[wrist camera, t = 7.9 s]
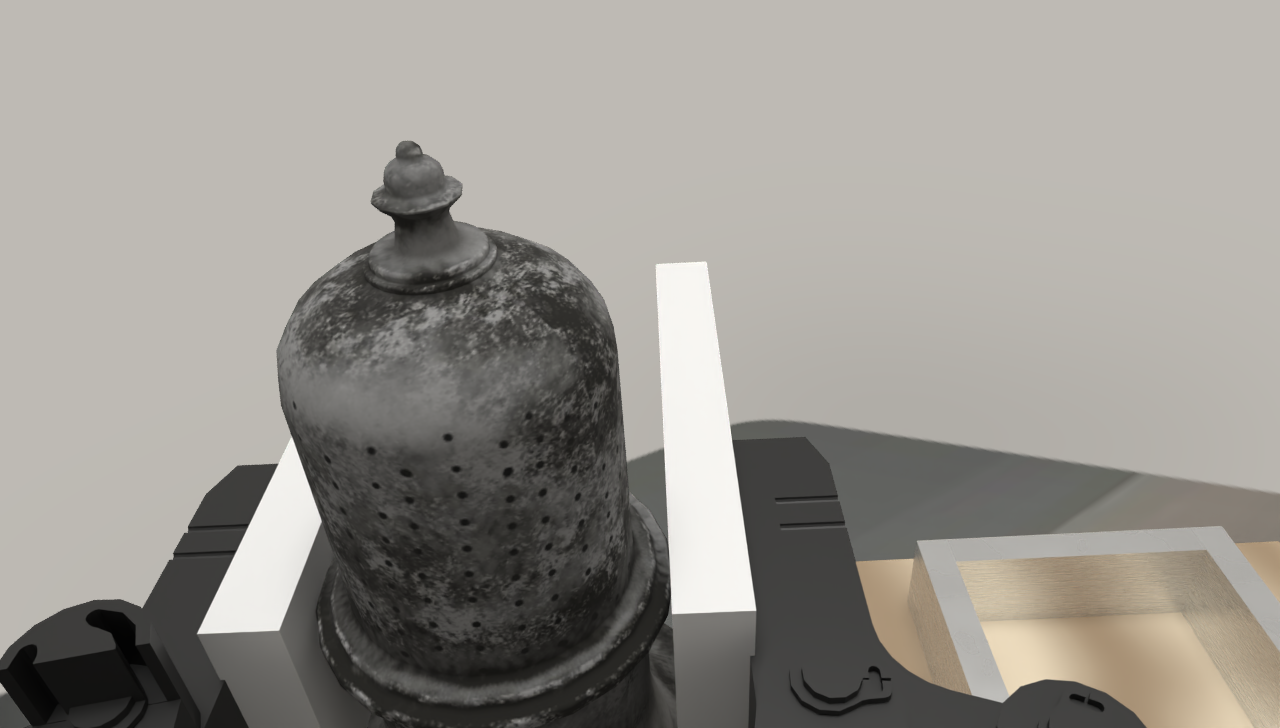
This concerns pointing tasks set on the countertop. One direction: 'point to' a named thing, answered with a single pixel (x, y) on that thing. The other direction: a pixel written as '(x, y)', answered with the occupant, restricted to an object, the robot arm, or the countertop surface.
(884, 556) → the countertop surface
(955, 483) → the countertop surface
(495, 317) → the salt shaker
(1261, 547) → the flange board
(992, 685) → the collar
